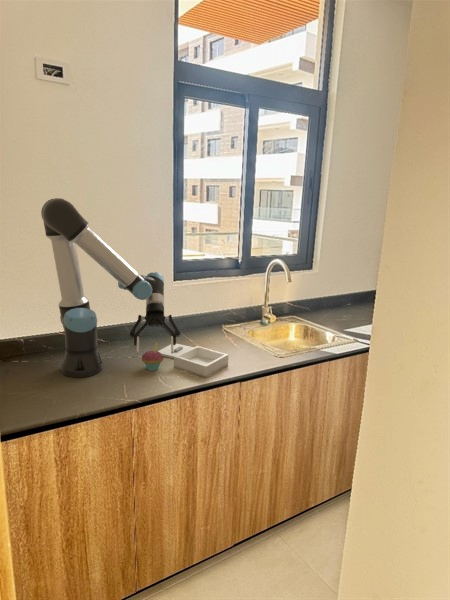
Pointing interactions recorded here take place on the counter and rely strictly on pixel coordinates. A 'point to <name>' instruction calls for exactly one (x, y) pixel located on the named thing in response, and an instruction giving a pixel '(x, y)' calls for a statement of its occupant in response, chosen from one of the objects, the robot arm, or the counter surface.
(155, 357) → the cupcake
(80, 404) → the counter surface
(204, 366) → the bin
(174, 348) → the bin lid
